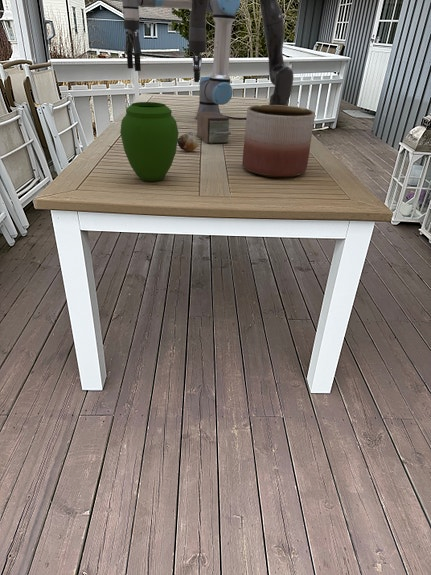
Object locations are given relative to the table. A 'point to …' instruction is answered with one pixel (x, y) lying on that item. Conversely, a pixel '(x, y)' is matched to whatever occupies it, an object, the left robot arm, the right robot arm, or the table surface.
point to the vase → (149, 139)
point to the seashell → (188, 142)
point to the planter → (277, 140)
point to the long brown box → (207, 124)
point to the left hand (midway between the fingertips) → (134, 69)
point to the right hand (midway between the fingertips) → (197, 81)
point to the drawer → (219, 131)
